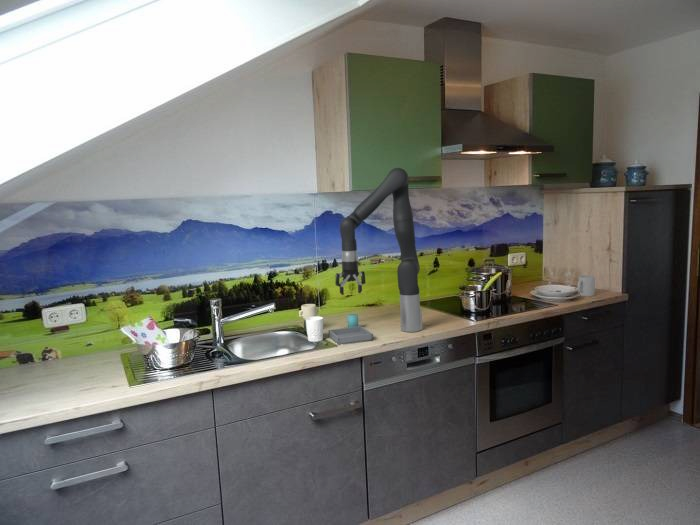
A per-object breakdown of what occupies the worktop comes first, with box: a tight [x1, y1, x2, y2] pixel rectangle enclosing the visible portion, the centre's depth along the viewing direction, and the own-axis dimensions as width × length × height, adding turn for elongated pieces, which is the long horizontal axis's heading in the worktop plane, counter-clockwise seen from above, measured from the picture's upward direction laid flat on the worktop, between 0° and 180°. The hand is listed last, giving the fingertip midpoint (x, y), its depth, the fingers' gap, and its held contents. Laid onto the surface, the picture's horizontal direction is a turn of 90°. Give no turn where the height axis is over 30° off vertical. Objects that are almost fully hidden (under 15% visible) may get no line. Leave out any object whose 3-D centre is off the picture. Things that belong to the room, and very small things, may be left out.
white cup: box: [306, 315, 324, 343], centre depth 228 cm, size 8×8×10 cm
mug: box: [577, 275, 596, 297], centre depth 296 cm, size 12×8×11 cm
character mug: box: [298, 303, 320, 333], centre depth 243 cm, size 11×7×13 cm, turn 127°
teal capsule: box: [346, 313, 360, 328], centre depth 244 cm, size 5×5×7 cm
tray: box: [328, 325, 374, 346], centre depth 228 cm, size 16×16×3 cm
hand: (350, 293), depth 241 cm, fingers open, 8 cm apart
